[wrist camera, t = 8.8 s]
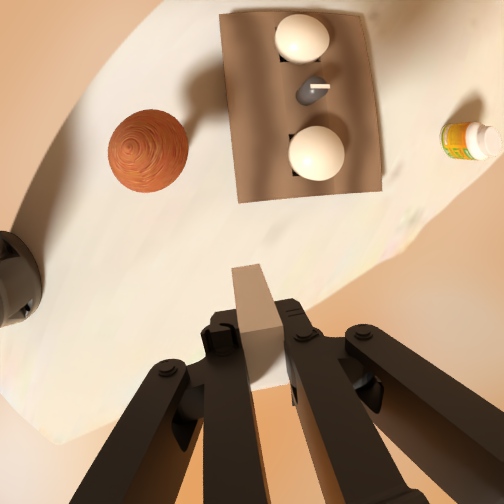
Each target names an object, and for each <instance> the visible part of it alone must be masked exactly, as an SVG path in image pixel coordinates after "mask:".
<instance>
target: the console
mask: <svg viewBox="0 0 504 504" xmlns="http://www.w3.org/2000/svg"><path fill="white" fill-rule="evenodd" d="M295 14H303V15H308V16H311V17H313V18H315V19H317V20H318V21H320V22H321V23H322V24H323V25H324V27H325V28H326V29H327V31H328V34H329V45H328V48H327V49H326V51H325V52H324V53H323V54H322V55H321V56H320V57H319V58H318V59H317V60H316V61H314V62H312V63H310V64H303V65H301V64H295V63H291V62H280V58H279V53H278V52H277V50H276V48H275V46H274V36H275V33H276V30H277V28H278V25H279V24H280V22H281V21H282V20H283V19H284V18H286V17H288V16H290V15H295ZM219 21H220V32H221V43H222V53H223V63H224V73H225V83H226V93H227V102H228V112H229V122H230V131H231V141H232V150H233V159H234V169H235V178H236V187H237V196H238V203H248V202H257V201H266V200H276V199H287V198H298V197H309V196H321V195H334V194H347V193H362V192H378V191H382V175H381V159H380V145H379V134H378V124H377V115H376V106H375V99H374V91H373V85H372V78H371V72H370V66H369V60H368V55H367V49H366V44H365V39H364V35H363V30H362V25H361V21H360V17H359V16H351V15H342V14H331V13H318V12H296V11H264V12H242V13H229V14H219ZM312 76H319V77H321V78H323V79H324V80H325V81H326V82H327V84H330V88H329V89H328V92H327V94H326V95H325V96H323V97H322V98H320V99H319V100H317V101H316V102H314V103H313V104H311V105H309V106H304V105H301V104H300V103H299V102H298V101H297V100H296V96H295V95H296V91H297V90H298V89H299V88H300V87H301V86H302V85H303V84H304V83H305V82H306V81H307V79H309V78H310V77H312ZM312 126H322V127H325V128H328V129H330V130H332V131H333V132H334V133H335V134H336V135H337V136H338V137H339V138H340V140H341V142H342V144H343V147H344V153H345V156H344V162H343V165H342V167H341V169H340V170H339V172H338V173H337V174H336V175H334V176H333V177H331V178H329V179H327V180H322V181H316V180H311V179H306V178H304V177H301V176H300V175H292V168H291V166H290V164H289V162H288V158H287V148H288V144H289V136H294V135H295V134H296V133H298V132H299V131H301V130H303V129H306V128H308V127H312Z"/></svg>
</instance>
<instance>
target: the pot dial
mask: <svg viewBox="0 0 504 504" xmlns="http://www.w3.org/2000/svg"><path fill="white" fill-rule="evenodd" d="M329 88H330V84H327V82H326V81H325V80H324V79H323V78H321V77H319V76H312V77H310V78H309V79H307V81H306V82H305V83H304V84H303V85H302V86H301V87H300V88H299V89H298V90H297V91H296V95H295V96H296V100H297V101H298V102H299V103H300V104H301V105H304V106H309V105H311V104H313V103H314V102H316V101H317V100H319V99H320V98H322V97H323V96H325V95H326V94H327V92H328V89H329Z"/></svg>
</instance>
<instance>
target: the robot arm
mask: <svg viewBox="0 0 504 504" xmlns="http://www.w3.org/2000/svg"><path fill="white" fill-rule="evenodd" d="M232 277H233V286H234V294H235V302H236V309H232V310H226V311H219V312H215V313H214V314H213V316H212V317H211V319H210V325H208V326H206V327H205V328H204V329H203V330H202V332H201V338H202V341H203V345H204V349H205V353H206V357H205V358H203V359H202V360H200V361H199V362H196V363H194V364H191V365H188V366H186V365H185V363H184V362H183V361H181V360H179V359H167V360H163V361H160V362H159V363H157V364H155V365H154V366H153V367H152V368H151V370H150V371H149V373H148V374H147V376H146V377H145V379H144V381H143V382H142V384H141V385H140V387H139V389H138V390H137V392H136V393H135V395H134V397H133V398H132V400H131V401H130V403H129V405H128V406H127V408H126V409H125V411H124V413H123V414H122V416H121V417H120V419H119V421H118V422H117V424H116V426H115V427H114V429H113V430H112V432H111V434H110V435H109V437H108V439H107V440H106V442H105V444H104V445H103V447H102V449H101V450H100V452H99V453H98V455H97V457H96V458H95V460H94V462H93V463H92V465H91V467H90V469H89V470H88V472H87V473H86V475H85V477H84V479H83V480H82V482H81V484H80V485H79V487H78V489H77V490H76V492H75V494H74V495H73V497H72V499H71V501H70V502H69V504H175V501H176V498H177V496H178V493H179V490H180V487H181V484H182V482H183V479H184V476H185V473H186V470H187V467H188V465H189V462H190V459H191V456H192V453H193V450H194V447H195V445H196V442H197V439H198V436H199V433H200V430H201V428H202V425H203V422H204V427H203V432H204V433H203V504H271V500H270V495H269V489H268V484H267V479H266V473H265V467H264V462H263V456H262V450H261V444H260V438H259V432H258V427H257V421H256V415H255V408H254V402H253V397H252V392H251V391H253V390H259V389H264V388H270V387H276V386H281V385H286V384H289V380H290V384H291V393H292V394H291V395H292V405H293V406H296V409H297V413H298V416H299V419H300V422H301V426H302V429H303V432H304V435H305V438H306V442H307V445H308V448H309V451H310V454H311V458H312V461H313V464H314V467H315V470H316V473H317V477H318V480H319V483H320V486H321V490H322V493H323V496H324V499H325V503H326V504H429V502H428V500H427V498H426V497H425V496H424V494H423V493H422V492H420V491H419V490H418V489H410V488H409V487H408V486H407V485H406V483H405V481H404V480H403V478H402V476H401V474H400V472H399V470H398V468H397V466H396V464H395V463H394V461H393V459H392V457H391V455H390V453H389V451H388V449H387V448H386V446H385V444H384V442H383V440H382V438H381V437H380V435H379V433H378V431H377V429H376V428H375V426H374V424H375V425H376V426H377V427H378V428H379V429H380V430H381V431H382V432H383V433H384V434H385V435H386V436H387V437H388V438H389V439H390V440H391V441H392V442H393V443H394V444H396V446H398V448H400V449H401V450H402V451H403V452H404V453H405V454H406V455H407V456H408V457H409V458H410V459H411V460H412V461H413V462H414V463H415V464H416V465H417V466H418V467H419V468H420V469H421V470H422V471H423V472H425V474H426V475H428V476H429V477H430V478H431V479H432V480H433V481H434V482H435V483H436V484H437V485H438V486H439V487H440V488H441V489H443V491H445V492H446V493H447V494H448V495H449V496H450V497H451V498H452V499H453V500H454V501H456V503H458V504H504V412H503V411H501V410H500V409H498V408H497V407H495V406H494V405H492V404H491V403H489V402H488V401H486V400H485V399H483V398H482V397H480V396H479V395H477V394H476V393H475V392H473V391H472V390H470V389H469V388H467V387H465V386H464V385H463V384H461V383H460V382H458V381H457V380H455V379H454V378H452V377H451V376H449V375H448V374H446V373H445V372H443V371H442V370H440V369H439V368H437V367H436V366H434V365H433V364H431V363H430V362H428V361H427V360H425V359H424V358H422V357H421V356H420V355H418V354H417V353H415V352H414V351H412V350H411V349H409V348H407V347H406V346H405V345H403V344H402V343H400V342H398V341H397V340H396V339H394V338H393V337H391V336H390V335H388V334H387V333H385V332H384V331H382V330H380V329H379V328H378V327H375V326H373V325H368V324H358V325H355V326H352V327H350V328H348V329H347V331H346V332H345V337H336V338H335V337H326V336H324V335H323V333H322V332H321V331H320V330H319V329H317V328H315V327H313V326H312V325H311V322H310V321H309V319H308V317H307V315H306V314H305V312H304V310H303V308H302V306H301V304H300V302H298V301H296V300H294V299H293V298H291V299H285V300H280V301H273V298H272V295H271V293H270V290H269V288H268V285H267V282H266V280H265V277H264V275H263V272H262V269H261V267H260V264H255V265H249V266H243V267H237V268H232ZM40 299H41V279H40V274H39V270H38V267H37V265H36V262H35V260H34V258H33V256H32V254H31V252H30V251H29V249H28V248H27V246H26V245H25V244H24V243H23V242H22V241H21V240H20V239H19V238H18V237H17V236H15V235H14V234H12V233H10V232H6V231H0V328H1V327H4V326H8V325H12V324H15V323H19V322H22V321H24V320H26V319H27V318H28V317H29V316H30V315H31V314H33V313H34V312H35V310H36V309H37V307H38V305H39V303H40ZM288 377H289V378H288ZM373 423H374V424H373Z"/></svg>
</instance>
